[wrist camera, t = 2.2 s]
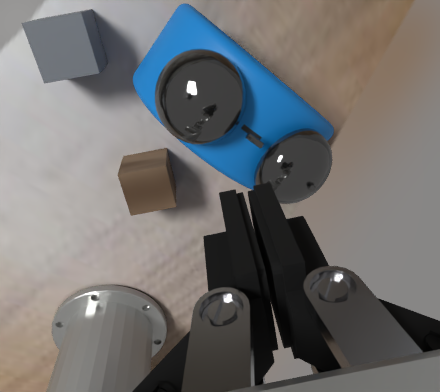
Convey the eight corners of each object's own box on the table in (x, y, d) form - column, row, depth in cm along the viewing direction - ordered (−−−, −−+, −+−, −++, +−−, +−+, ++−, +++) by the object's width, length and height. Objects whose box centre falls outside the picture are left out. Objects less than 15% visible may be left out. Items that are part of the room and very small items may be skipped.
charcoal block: (107, 63, 31) (99, 73, 28) (59, 72, 31) (44, 83, 28) (92, 9, 29) (81, 12, 26) (40, 18, 29) (21, 23, 26)
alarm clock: (302, 98, 34) (382, 169, 21) (257, 151, 36) (305, 246, 23) (181, -4, 29) (186, 4, 16) (137, 64, 31) (110, 120, 18)
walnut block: (176, 186, 37) (176, 206, 34) (135, 193, 37) (130, 215, 34) (166, 147, 35) (165, 165, 32) (123, 155, 35) (117, 174, 32)
